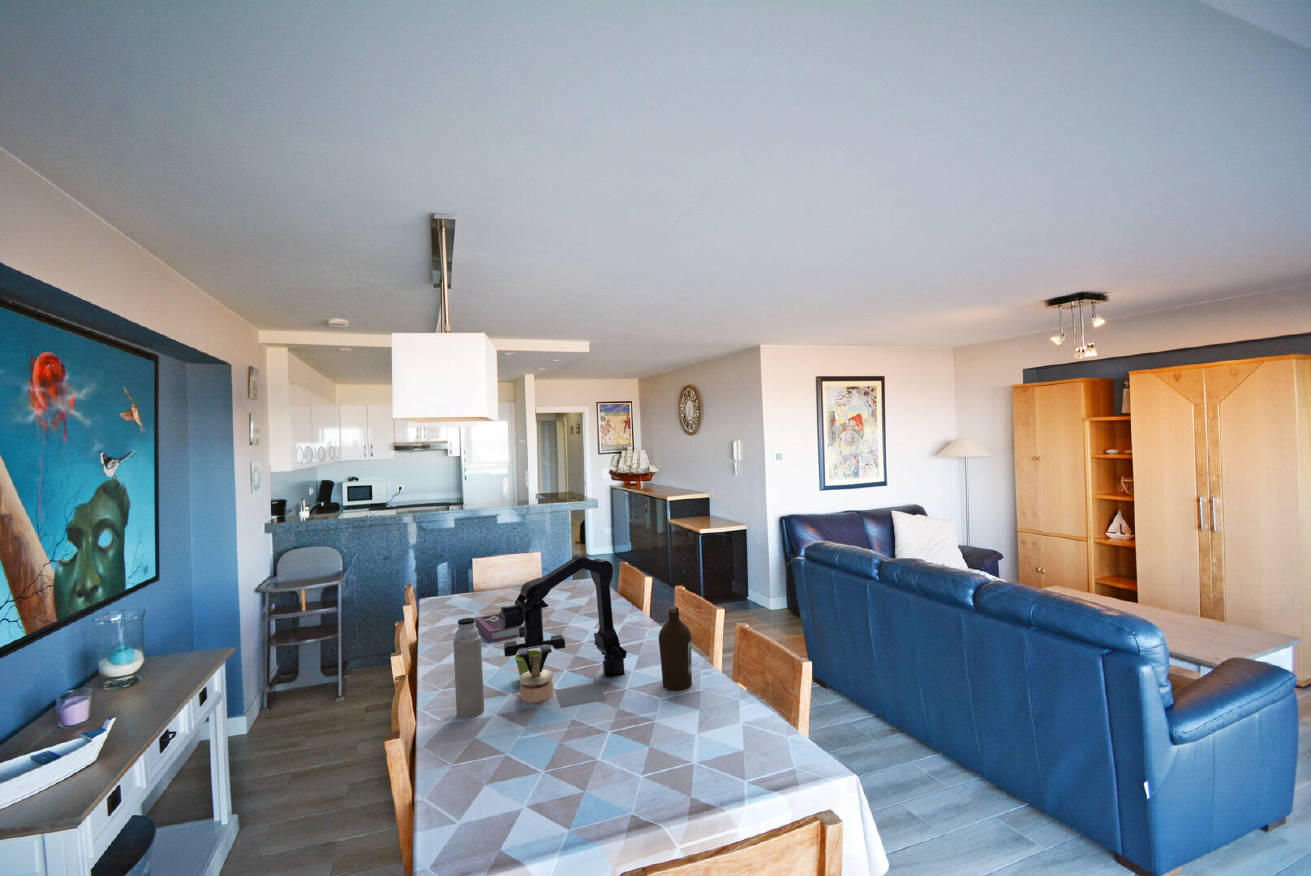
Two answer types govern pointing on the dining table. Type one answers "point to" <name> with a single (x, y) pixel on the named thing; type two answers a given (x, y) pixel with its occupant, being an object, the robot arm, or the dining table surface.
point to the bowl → (536, 692)
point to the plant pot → (521, 662)
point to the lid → (535, 674)
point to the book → (494, 628)
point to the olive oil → (675, 653)
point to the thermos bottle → (468, 670)
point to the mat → (580, 695)
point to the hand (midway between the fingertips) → (535, 672)
